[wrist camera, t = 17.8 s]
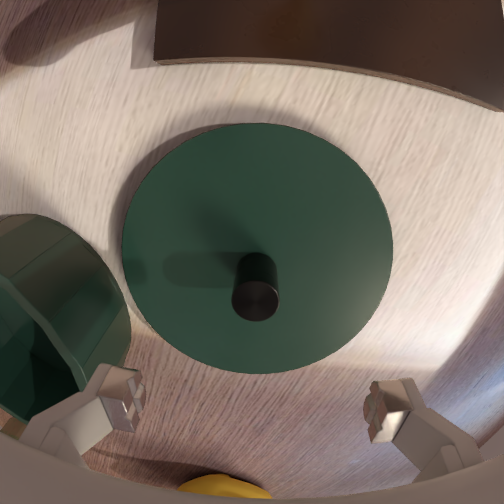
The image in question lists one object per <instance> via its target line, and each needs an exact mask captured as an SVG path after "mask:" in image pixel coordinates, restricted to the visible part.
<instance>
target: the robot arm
mask: <svg viewBox="0 0 504 504" xmlns="http://www.w3.org/2000/svg"><path fill="white" fill-rule="evenodd" d="M141 380H142V375H141V371H139V370H136V369H131V368H126V367H121V366H116V365H110V364H105V363H101V364H99V365H98V367H97V368H96V370H95V372H94V373H93V375H92V377H91V379H90V380H89V382H88V384H87V386H86V387H85V389H84V391H83V392H78V393H76V394H74V395H72V396H70V397H68V398H67V399H65V400H63V401H61V402H59V403H57V404H56V405H54V406H52V407H50V408H48V409H46V410H44V411H43V412H41V413H39V414H37V415H35V416H33V417H32V418H31V420H30V422H29V423H28V425H27V427H26V428H25V430H24V432H23V433H22V435H21V437H20V438H19V440H16V439H14V438H12V437H10V436H8V435H6V434H4V433H2V432H0V504H504V454H501V455H499V456H497V457H494V458H492V459H489V460H487V461H484V460H483V458H482V456H481V454H480V451H479V449H478V447H477V445H476V443H475V440H474V438H473V437H472V436H470V435H469V434H467V433H466V432H464V431H463V430H461V429H460V428H459V427H457V426H456V425H454V424H453V423H451V422H450V421H448V420H447V419H445V418H444V417H442V416H441V415H440V414H438V413H437V412H435V411H434V410H432V409H431V408H426V405H425V403H424V401H423V399H422V397H421V395H420V393H419V390H418V388H417V386H416V384H415V382H414V380H413V379H412V378H402V379H391V380H380V381H373V382H372V384H371V386H370V391H371V393H370V394H369V395H368V396H366V399H365V401H364V407H363V413H364V418H365V421H366V422H368V423H369V424H370V426H369V428H368V433H369V437H370V441H371V444H373V443H383V442H392V441H393V442H392V443H393V444H394V445H395V446H396V447H397V448H398V449H399V450H400V451H401V452H402V453H403V454H404V455H405V456H406V457H407V458H408V459H409V460H410V461H411V462H412V463H413V464H414V465H415V466H416V467H417V468H418V469H419V470H420V471H421V472H420V473H419V475H418V476H417V477H416V478H415V479H414V480H413V482H412V484H408V485H403V486H398V487H393V488H388V489H383V490H377V491H371V492H364V493H357V494H349V495H340V496H329V497H316V498H292V499H263V498H239V497H226V496H215V495H206V494H198V493H190V492H184V491H177V490H171V489H166V488H161V487H155V486H151V485H146V484H141V483H137V482H133V481H129V480H125V479H121V478H117V477H114V476H110V475H107V474H103V473H100V472H97V471H94V470H90V469H89V467H88V465H87V464H86V462H85V461H84V459H83V458H82V457H81V455H82V454H84V453H85V452H86V451H87V450H89V449H90V448H91V447H93V446H94V445H95V444H96V443H98V442H99V441H100V440H101V439H102V438H104V437H105V436H106V435H107V434H109V433H110V432H111V431H112V430H113V429H118V430H123V431H128V432H133V433H135V430H136V428H137V425H138V422H139V420H140V419H139V416H138V413H139V412H141V411H142V410H143V408H144V406H145V401H146V390H145V386H144V385H143V384H142V383H141Z"/></svg>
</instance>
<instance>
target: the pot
mask: <svg viewBox="0 0 504 504" xmlns="http://www.w3.org/2000/svg"><path fill="white" fill-rule="evenodd" d="M130 342H131V323H130V316H129V313H128V309H127V305H126V302H125V300H124V297H123V294H122V292H121V290H120V288H119V286H118V284H117V282H116V280H115V278H114V277H113V275H112V273H111V272H110V270H109V269H108V267H107V266H106V265H105V263H104V262H103V260H102V259H101V258H100V256H99V255H98V254H97V253H96V252H95V251H94V250H93V249H92V247H91V246H90V245H89V244H87V243H86V242H85V241H84V240H83V239H82V238H81V237H80V236H79V235H77V234H76V233H75V232H73V231H72V230H71V229H69V228H68V227H66V226H64V225H63V224H61V223H59V222H57V221H55V220H53V219H50V218H48V217H44V216H40V215H35V214H23V215H17V216H10V217H8V218H6V219H4V220H2V221H0V408H2V409H3V410H4V411H6V412H7V413H9V414H10V415H12V416H13V417H15V418H16V419H18V420H19V421H21V422H22V423H24V424H26V425H28V423H29V422H30V420H31V418H32V417H33V416H35V415H37V414H39V413H41V412H43V411H44V410H46V409H48V408H50V407H52V406H54V405H56V404H57V403H59V402H61V401H63V400H65V399H67V398H68V397H70V396H72V395H74V394H76V393H78V392H83V391H84V389H85V387H86V386H87V384H88V382H89V380H90V379H91V377H92V375H93V373H94V372H95V370H96V368H97V367H98V365H99V364H101V363H105V364H110V365H116V366H121V367H123V365H124V362H125V359H126V356H127V353H128V350H129V347H130Z"/></svg>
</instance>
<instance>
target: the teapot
mask: <svg viewBox="0 0 504 504" xmlns="http://www.w3.org/2000/svg"><path fill="white" fill-rule="evenodd" d="M177 491H184V492H190V493H198V494H206V495H215V496H226V497H239V498H263V499H272V497H271V495H270V494H269V493H268V492H267V491H265V490H263V489H261V488H259V487H258V486H255V485H252V484H250V483H247V482H243V481H240V480H237V479H233V478H230V477H229V476H228V475H225V474H216V475H206V476H202V477H199V478H196V479H193V480H190V481H188V482H186V483H184V484H182V485H181V486H180V487H179V488H178V489H177Z"/></svg>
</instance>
